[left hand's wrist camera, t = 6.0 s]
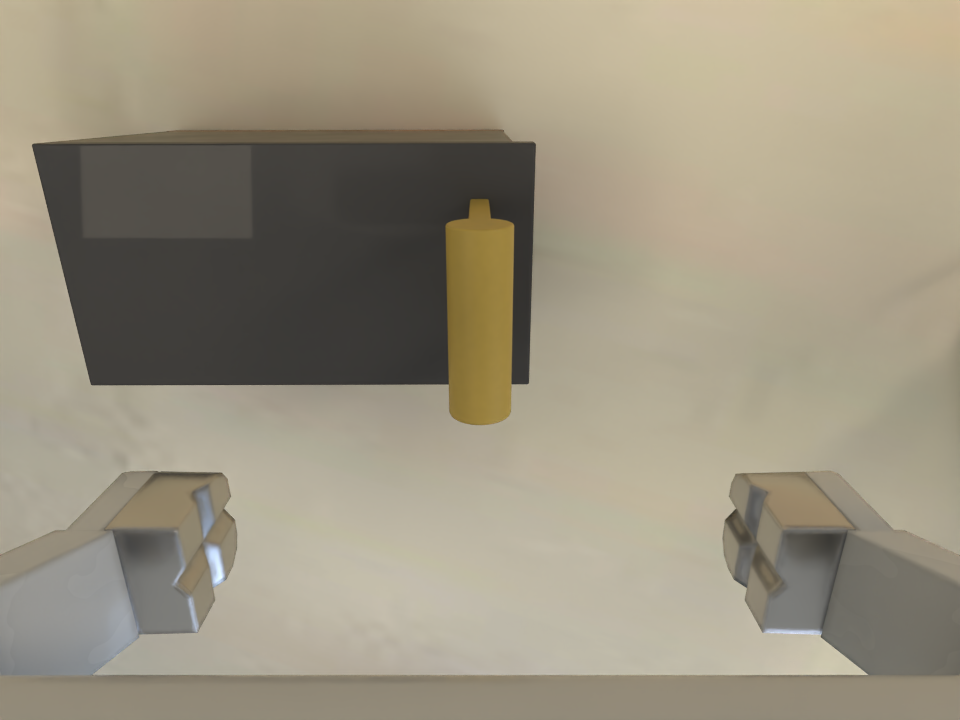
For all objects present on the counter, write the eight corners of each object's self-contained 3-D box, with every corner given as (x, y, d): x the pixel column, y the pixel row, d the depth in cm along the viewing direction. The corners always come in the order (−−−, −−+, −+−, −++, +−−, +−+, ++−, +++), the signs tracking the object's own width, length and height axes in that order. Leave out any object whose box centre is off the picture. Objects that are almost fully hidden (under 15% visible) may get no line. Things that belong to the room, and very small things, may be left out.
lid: (533, 141, 24) (558, 158, 17) (527, 376, 28) (545, 477, 20) (46, 142, 24) (-149, 160, 17) (102, 377, 28) (-38, 479, 20)
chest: (503, 129, 34) (513, 140, 24) (501, 301, 38) (509, 376, 28) (176, 130, 34) (47, 142, 24) (205, 302, 38) (102, 377, 28)
